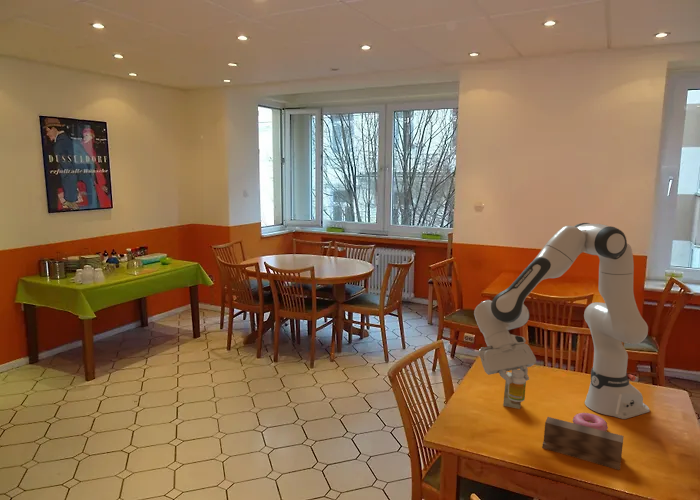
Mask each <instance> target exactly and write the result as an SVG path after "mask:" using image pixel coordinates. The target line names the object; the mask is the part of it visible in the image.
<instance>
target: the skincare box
mask: <svg viewBox="0 0 700 500" xmlns="http://www.w3.org/2000/svg"><path fill="white" fill-rule="evenodd" d="M506 372H507V373H506V374H507V375H508V376H509V378H510V376H512V372H509V371H506ZM508 387H509V384H507V382H506V381H505V384H504V394H503V403H502V405H503V406H504V407H509V408H513V409H518V410H520V409H521V404H522V402H515V401H512V400H510V399H509V398H508Z"/></svg>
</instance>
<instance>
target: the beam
mask: <svg viewBox="0 0 700 500" xmlns="http://www.w3.org/2000/svg"><path fill="white" fill-rule="evenodd" d="M543 432H544V433H543V442H542V446H541V447H542V449H545V450H548V451H552V452H555V453H559V454H562V455H565V456H569V457H573V458H576V459H580V460H583V461H586V462H590V463H594V464H597V465H600V466H604V467H608V468H612V469H615V470H618V471H621V466H622V465H621V464H622V463H621V462H622V455H623V445H624V438H625V437H624V435H622V434H621V435H620V434H617V433H613V432H609V431H602V430H598V429H594V428H590V427H586V426H582V425H578V424H575V423H573V422H570V421H566V420H562V419H558V418H555V417H551V416H547V417H546V420H545V422H544V431H543Z"/></svg>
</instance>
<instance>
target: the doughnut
mask: <svg viewBox="0 0 700 500" xmlns="http://www.w3.org/2000/svg"><path fill="white" fill-rule="evenodd" d="M572 423H575V424H578V425H582V426H586V427H590V428H594V429H598V430H602V431H606V432H608V431H607V430H608V429H609V426H608V423H607V422H606V420H605V419H604V418H602V417H601V416H599V415H596V414H594V413H589V412H580V413H576V414H575V415H574V417H573V418H572Z"/></svg>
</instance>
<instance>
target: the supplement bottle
mask: <svg viewBox="0 0 700 500" xmlns="http://www.w3.org/2000/svg"><path fill="white" fill-rule="evenodd" d="M511 373H512V376H510V377H512V380H513V383H512V384H509V387H508V398H509V399H510V400H512V401H515V402H521V403H522V402H524V401H525V399H526V397H525V396H526V385H527V384H526V383H527V381H526V379H525V378H524V372H523V371H522V370H520V369H514V370H511Z"/></svg>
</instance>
